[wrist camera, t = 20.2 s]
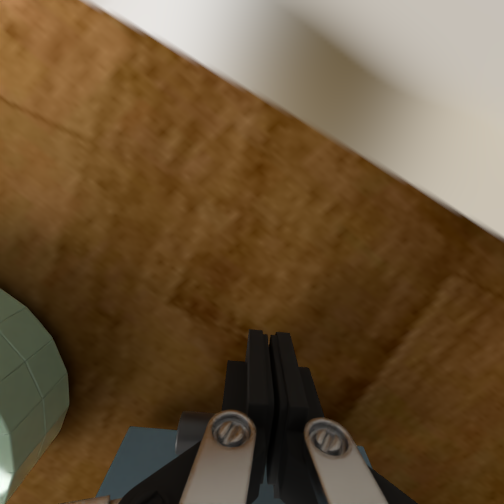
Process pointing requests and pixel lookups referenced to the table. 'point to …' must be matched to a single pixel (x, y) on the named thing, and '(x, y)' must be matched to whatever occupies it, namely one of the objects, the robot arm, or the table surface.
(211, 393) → the table surface
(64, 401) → the bowl
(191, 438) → the drawer
